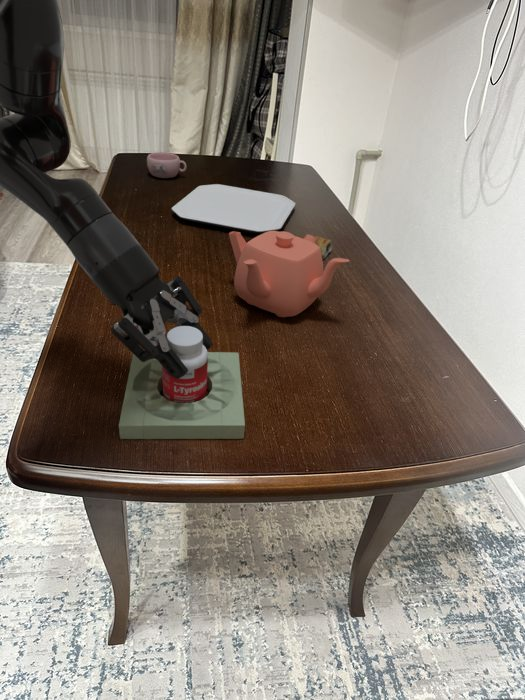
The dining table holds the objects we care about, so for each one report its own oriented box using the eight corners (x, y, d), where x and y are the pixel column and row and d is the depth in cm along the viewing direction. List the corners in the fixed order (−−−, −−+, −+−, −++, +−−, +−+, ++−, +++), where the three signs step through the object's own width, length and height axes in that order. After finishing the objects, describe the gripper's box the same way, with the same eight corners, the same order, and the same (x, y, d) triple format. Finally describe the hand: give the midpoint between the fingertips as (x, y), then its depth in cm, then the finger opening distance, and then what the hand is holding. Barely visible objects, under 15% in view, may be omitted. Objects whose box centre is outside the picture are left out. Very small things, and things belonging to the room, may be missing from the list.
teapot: (336, 325, 90) (351, 256, 82) (238, 329, 86) (244, 257, 78) (308, 278, 105) (319, 215, 97) (223, 280, 101) (226, 214, 92)
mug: (144, 179, 148) (143, 159, 144) (150, 170, 156) (150, 150, 152) (184, 183, 148) (184, 163, 145) (188, 173, 156) (188, 154, 153)
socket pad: (120, 439, 63) (118, 425, 62) (134, 363, 76) (133, 350, 74) (243, 438, 65) (245, 425, 64) (237, 365, 78) (238, 352, 76)
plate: (298, 205, 142) (299, 197, 140) (275, 242, 118) (276, 233, 117) (203, 188, 146) (203, 181, 144) (164, 221, 123) (163, 212, 121)
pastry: (286, 251, 115) (288, 235, 113) (296, 241, 120) (298, 226, 118) (324, 261, 112) (326, 245, 110) (332, 251, 117) (335, 236, 115)
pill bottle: (171, 418, 67) (170, 353, 61) (157, 390, 71) (154, 327, 65) (213, 406, 70) (216, 343, 63) (197, 380, 74) (198, 318, 67)
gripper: (92, 267, 54) (186, 382, 58) (162, 226, 65) (237, 325, 69) (60, 296, 59) (149, 401, 63) (131, 253, 70) (203, 345, 74)
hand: (195, 361), depth 66 cm, fingers closed on pill bottle, 6 cm apart
